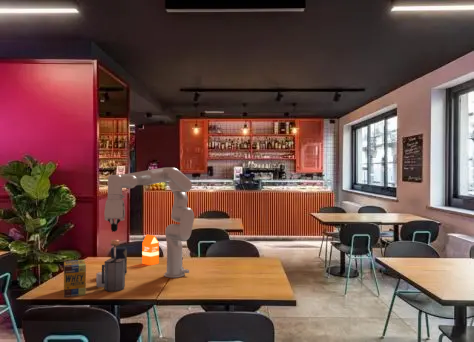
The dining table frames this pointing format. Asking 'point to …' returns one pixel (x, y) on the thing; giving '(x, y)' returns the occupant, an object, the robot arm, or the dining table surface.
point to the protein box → (74, 278)
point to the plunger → (114, 243)
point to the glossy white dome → (99, 279)
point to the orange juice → (150, 250)
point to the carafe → (114, 275)
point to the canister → (120, 254)
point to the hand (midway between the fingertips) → (114, 231)
